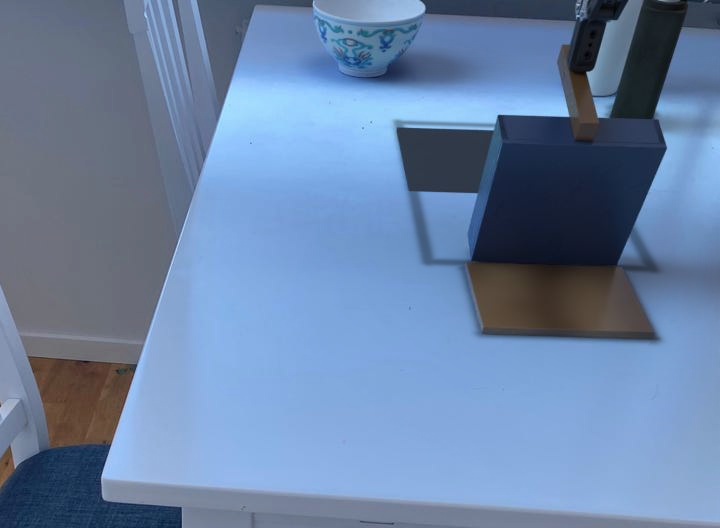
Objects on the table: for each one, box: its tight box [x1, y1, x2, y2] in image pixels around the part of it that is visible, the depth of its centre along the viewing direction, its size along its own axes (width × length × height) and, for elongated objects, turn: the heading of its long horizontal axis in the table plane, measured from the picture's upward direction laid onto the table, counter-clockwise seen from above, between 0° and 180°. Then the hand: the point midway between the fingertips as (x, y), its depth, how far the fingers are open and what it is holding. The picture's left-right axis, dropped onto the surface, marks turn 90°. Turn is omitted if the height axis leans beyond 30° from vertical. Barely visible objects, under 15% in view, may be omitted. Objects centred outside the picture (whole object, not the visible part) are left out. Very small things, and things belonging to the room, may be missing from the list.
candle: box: [609, 0, 689, 119], centre depth 110 cm, size 5×5×25 cm
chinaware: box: [312, 0, 427, 78], centre depth 128 cm, size 15×15×8 cm
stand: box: [464, 261, 655, 340], centre depth 87 cm, size 15×12×2 cm
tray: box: [467, 43, 668, 267], centre depth 87 cm, size 14×14×12 cm
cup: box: [575, 0, 644, 97], centre depth 122 cm, size 10×10×14 cm
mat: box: [396, 126, 494, 194], centre depth 104 cm, size 22×36×1 cm, turn 178°
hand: (579, 68), depth 82 cm, fingers closed
